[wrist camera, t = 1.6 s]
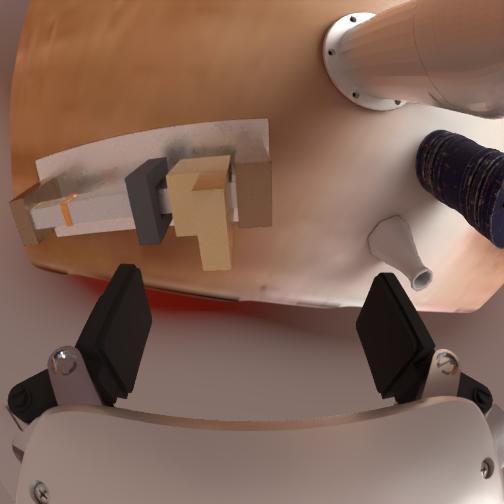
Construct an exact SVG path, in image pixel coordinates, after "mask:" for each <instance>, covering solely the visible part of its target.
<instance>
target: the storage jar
mask: <svg viewBox="0 0 504 504" xmlns="http://www.w3.org/2000/svg"><path fill="white" fill-rule="evenodd" d="M416 173H417V177H418V180H419V182H420V184H421V185H422V187H423V188H424V189H425V190H426V191H428V192H429V193H431V194H432V195H433V196H434V197H435V198H436V199H438V200H439V201H440V202H442V203H444V204H446V205H447V206H448V207H450V208H452V209H455V210H456V211H458V212H459V213H460V214H462V215H463V216H464V218H465V219H466V220H467V222H468V223H469V224H470V225H471V226H473V227H474V228H475V229H476V230H477V231H478V232H479V233H480V234H482V235H483V236H485V237H486V238H487V239H489V240H490V241H491V242H492V243H493V244H494V245H495V246H496V247H497V248H500V249H504V153H503V152H500V151H499V150H496V149H492V148H486V147H483V146H481V145H479V144H477V143H476V142H474V141H473V140H471V139H468V138H466V137H465V136H462V135H459V134H456V133H451V132H449V131H445V130H436V131H433V132H431V133H430V134H428V135H427V136H426V137H425V139H424V140H423V141H422V143H421V145H420V147H419V149H418V152H417V156H416Z"/></svg>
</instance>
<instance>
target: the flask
mask: <svg viewBox="0 0 504 504" xmlns="http://www.w3.org/2000/svg"><path fill="white" fill-rule="evenodd" d="M368 242H369V247H370V253H371V254H372V255H373V256H375V257H377V258H378V259H380V260H381V261H383V262H385V263H386V264H389V265H391V266H393V267H394V268H396V269H398V270H400V271H401V272H402V273H403V274H404V275H406V276H407V278H408V279H409V280H410V282H411V287H412V288H413V289H414V290H416V291H417V292H418V291H420V290H422V289H424V288H426V287H427V286H428V284H429V283H430V282H431V281H432V274H433V273H432V271H430V270H429V269H428V268H427V267H425V266H424V265H423V263H422V261H421V259H420V258H419V256H418V253H417V250H416V247H415V244H414V241H413V237H412V234H411V230H410V227H409V225H408V224H407V223H406V222H405V221H404V220H402V219H401V218H400V217H399V216H394V217H392V218H389V219H387V220H384V221H382V222H380V223H379V224H378V225H377V227H376V228H375V229H374V231H373V232H372V233H371V234H370V236H369V237H368Z"/></svg>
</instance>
